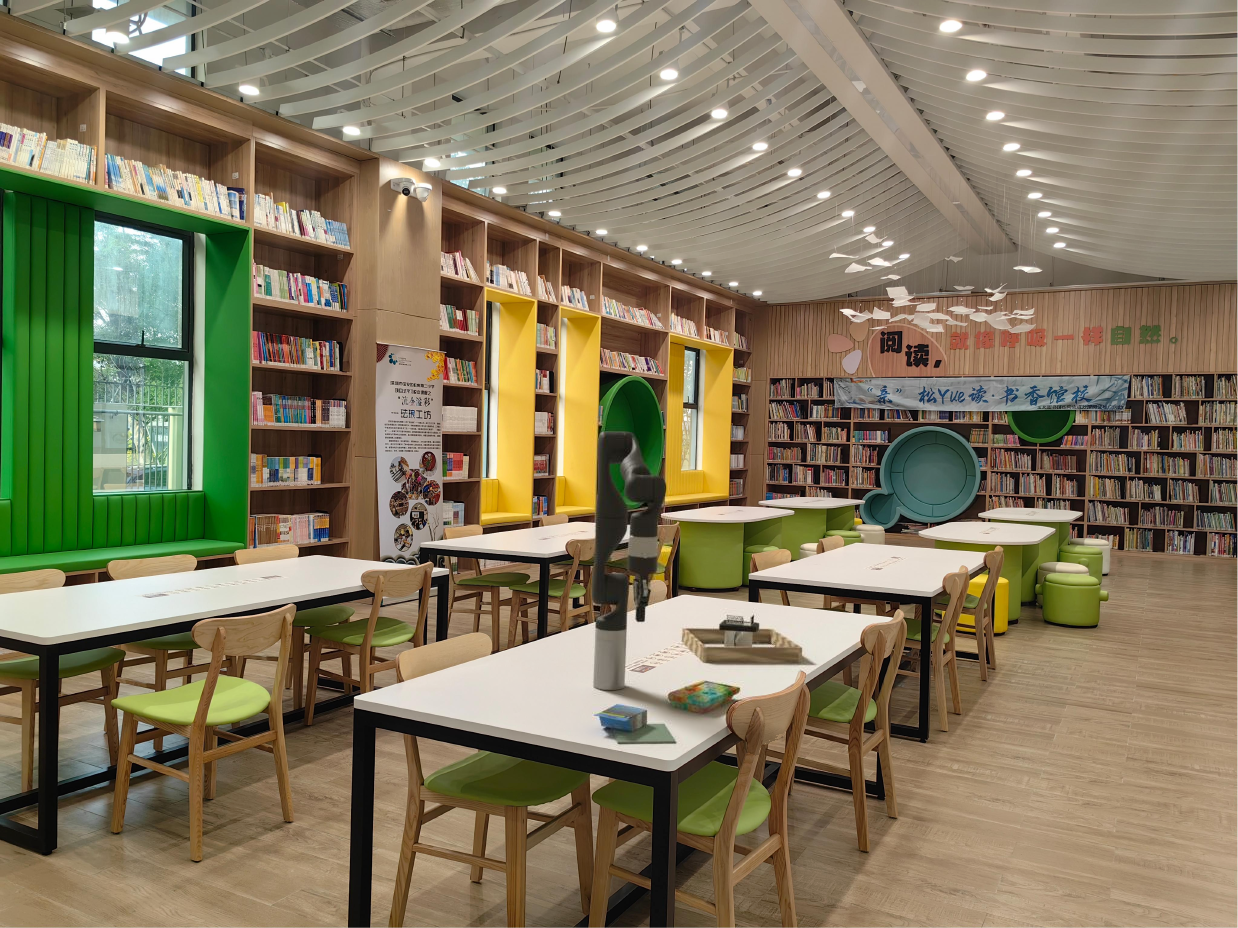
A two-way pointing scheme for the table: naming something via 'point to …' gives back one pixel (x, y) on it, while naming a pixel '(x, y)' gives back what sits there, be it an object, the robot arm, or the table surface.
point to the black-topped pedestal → (738, 631)
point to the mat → (644, 735)
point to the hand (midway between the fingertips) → (640, 621)
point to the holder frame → (780, 653)
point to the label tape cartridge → (623, 717)
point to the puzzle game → (702, 696)
